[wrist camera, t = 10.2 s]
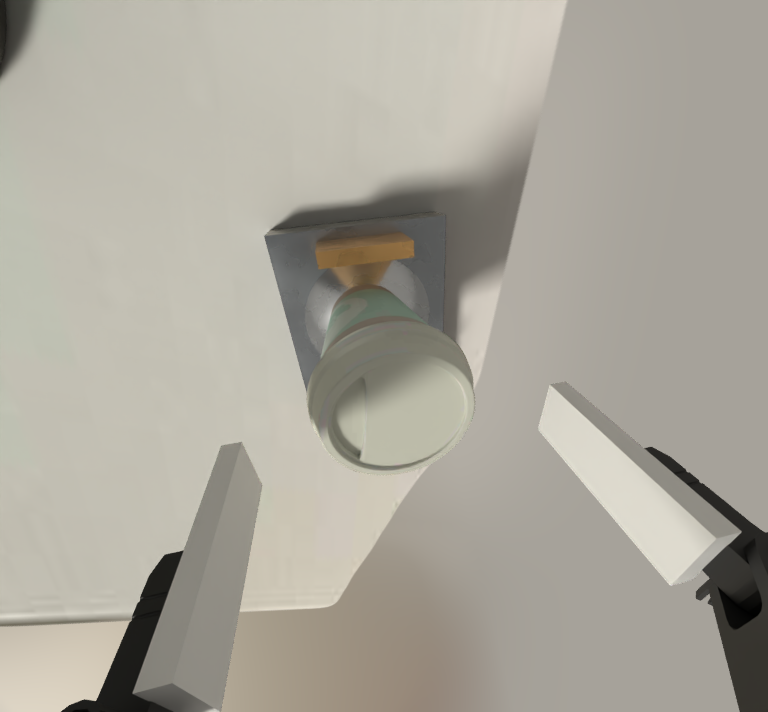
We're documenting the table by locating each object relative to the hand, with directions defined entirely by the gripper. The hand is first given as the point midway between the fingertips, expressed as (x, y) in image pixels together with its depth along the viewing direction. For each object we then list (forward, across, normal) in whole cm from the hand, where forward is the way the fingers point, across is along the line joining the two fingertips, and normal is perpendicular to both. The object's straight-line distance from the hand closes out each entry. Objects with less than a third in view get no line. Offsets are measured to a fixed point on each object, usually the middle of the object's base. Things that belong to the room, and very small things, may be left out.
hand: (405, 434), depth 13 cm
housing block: (+16, 0, 0) cm, 16 cm away
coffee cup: (+13, 0, 0) cm, 13 cm away
